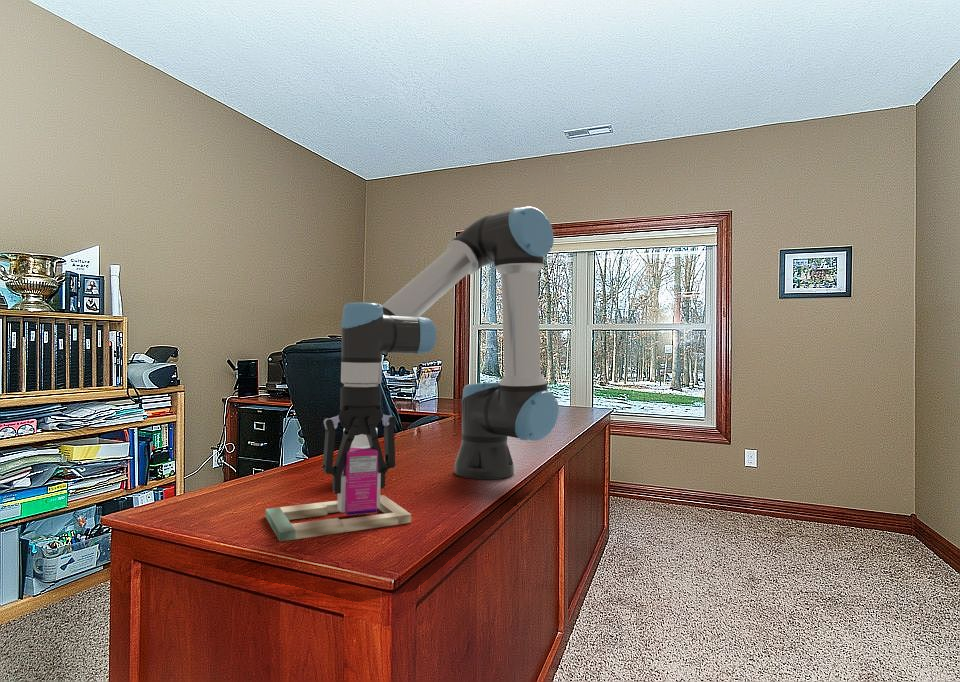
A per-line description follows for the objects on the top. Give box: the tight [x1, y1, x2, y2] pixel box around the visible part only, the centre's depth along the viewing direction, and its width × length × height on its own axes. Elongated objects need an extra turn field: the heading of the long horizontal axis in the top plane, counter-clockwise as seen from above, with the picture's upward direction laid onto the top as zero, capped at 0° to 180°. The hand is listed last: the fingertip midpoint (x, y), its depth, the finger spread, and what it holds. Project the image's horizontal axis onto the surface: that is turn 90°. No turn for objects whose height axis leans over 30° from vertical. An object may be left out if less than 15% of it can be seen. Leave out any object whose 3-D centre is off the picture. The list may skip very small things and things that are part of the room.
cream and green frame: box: [265, 494, 412, 542], centre depth 106 cm, size 23×15×2 cm, turn 119°
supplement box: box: [342, 446, 378, 516], centre depth 108 cm, size 6×6×12 cm
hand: (358, 508), depth 108 cm, fingers closed on supplement box, 6 cm apart
